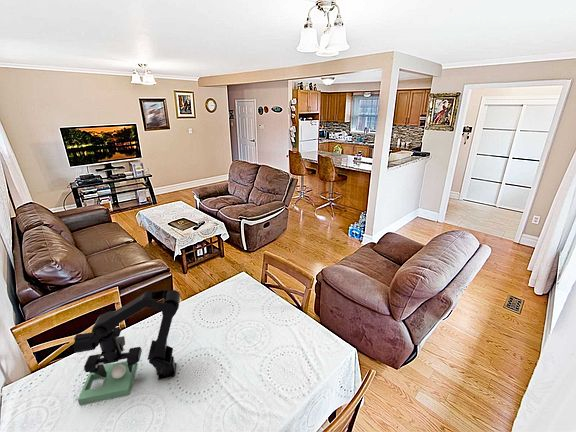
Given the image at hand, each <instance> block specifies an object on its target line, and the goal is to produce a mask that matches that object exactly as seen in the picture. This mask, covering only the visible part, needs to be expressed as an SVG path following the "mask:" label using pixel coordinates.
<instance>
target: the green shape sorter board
mask: <svg viewBox="0 0 576 432" xmlns="http://www.w3.org/2000/svg"><path fill="white" fill-rule="evenodd" d="M119 364H122V365H124V366H125V367H126V372H125V374H124V375H123V376H122V377H121V378H118V379H116V378H113V377H112V374H111V372H112V369H113V368H114V367H115V366H116V365H119ZM138 364H139V363H138V362H137V363H136V364H134V365H133V368H132V372H131V373H130V371H129V369H128V366H127V365H128V363H127V360H126V361H120V362H113V363H108V364H103V365H104V368H105V370H106V373H107V377H106V378H104V377H102V376H100V375H98V374H95V373H90V372H88V376H87V377H86V380H85V382H84V384H83V387H82V389H81V391H80V393H79V396H78V398H77V402H78V404H79V406H83V405H87V404H92V403H96V402H100V401H105V400H106V401H107V400H110V399H115V398H119V397H125V396H129V395H130V394H131V390H132V387H133V383H134V379H135V375H136V372H137V369H138ZM99 378H100V379H104V381H103V383H102V386H100V387H95V388H91V386H92V384H93V381H94V380H100V379H99Z"/></svg>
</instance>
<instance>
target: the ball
mask: <svg viewBox="0 0 576 432" xmlns="http://www.w3.org/2000/svg"><path fill="white" fill-rule="evenodd" d="M125 372H126V367H125V366H124V365H122V364H119V365H116V366H115V367H114V368H113V369H112V372H111V374H112V377H113V378H116V379H118V378H121V377H122V376H123V375H124V374H125Z"/></svg>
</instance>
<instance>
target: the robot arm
mask: <svg viewBox="0 0 576 432" xmlns="http://www.w3.org/2000/svg"><path fill="white" fill-rule="evenodd" d="M159 299H163V302H161V301H158V300H159ZM180 300H181V293H180V292H179V291H178V290H175V289H159V290H155V291H152V290H148V291H145V292H144V293H142V294H141V295H139V296H137V297H136V298H134V299H132V300H131V301H129V302H128V303H126V304H124V305H123V306H121V307H120V308H118V309H116V310H111V311H110V310H109V311H107V312H105V313H102V314H100V315H99V316H98V317H97V319H96V321H95V323H94V325H93V326H92V328H91V332H85V333H77V334H75V336H74V338H73V340H74V343H73V351H74V353H76V354H79V353H84V352H89V351H95V350H96V348H97V347H98V346H99V347H100V350H101V352H100V353H97V354H92V355H91V354H90V355H89V356H88V357H87V359H86V361H85V363H84V366H83V369H84V372H85V373H95V374H98V375H100V376H102V377H104V378H103V379H105V378H106V377H107V373H106V370H105V368H104V365H109V364H114V363H119V361H121V360H126V361H127V363H128V365H127V366H128V369H129V371H130V373H131V372H132V368H133V365H134V364H136V363H137V364H138V363H139V362H140V360H141V359H140V358H141V356H142V353H143V352H142V351H143V349H142V347H141V346H136V347H131V348H129V350H128V351H125V352H124V346H125V345H126V339H125V336H124V335H123V336H120V335H121V333H122V329H121V328H119V327H118V326H119V325H120V324H121V323H122V322H123V321H125V320H128V319H129V318H131V317H132V316H134V315H135V314H137V313H138V312H140V311H142V310H144V309H145V308H151V309H153V310H155V311H156V312H161V315H162V318H161V323H160V326H159V331H158V334H157V338H156V340H153V339H152V340H151V344H150V347H149V352H148V354H147V355H148V356H147V360H148V363H149V364H151V366H153V367H154V369H155V371H156V375H157V380H165V379H168V378H173V377H176V368H177V362H176V361H175V358H174V356H173V353H174V352H173V351H174V347H172V346H170V345H168V337H169V333H170V330H171V325H172V321H173V318H174V317H175V315H176V314H177V311H178V310H179V307H180Z"/></svg>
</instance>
